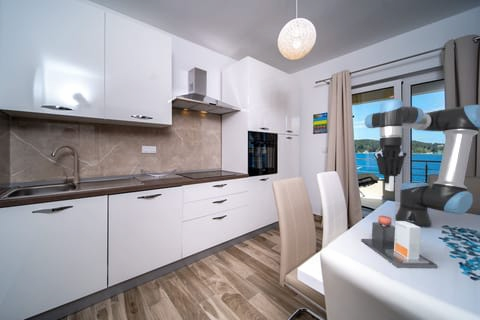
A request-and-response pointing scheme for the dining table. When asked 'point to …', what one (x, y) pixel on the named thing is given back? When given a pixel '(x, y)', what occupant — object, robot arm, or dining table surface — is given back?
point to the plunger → (384, 220)
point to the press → (392, 248)
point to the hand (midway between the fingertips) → (389, 190)
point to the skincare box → (407, 240)
